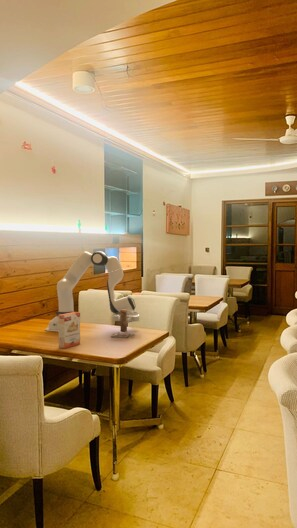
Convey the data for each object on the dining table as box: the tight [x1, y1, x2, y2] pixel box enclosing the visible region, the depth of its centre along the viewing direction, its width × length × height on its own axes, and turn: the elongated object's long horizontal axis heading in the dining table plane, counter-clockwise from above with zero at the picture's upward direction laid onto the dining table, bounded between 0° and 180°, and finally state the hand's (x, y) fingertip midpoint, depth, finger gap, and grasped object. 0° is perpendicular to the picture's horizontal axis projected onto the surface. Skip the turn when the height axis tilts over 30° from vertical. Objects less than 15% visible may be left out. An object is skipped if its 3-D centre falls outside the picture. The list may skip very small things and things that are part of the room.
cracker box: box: [58, 311, 81, 350], centre depth 248 cm, size 14×6×21 cm, turn 146°
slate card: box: [110, 333, 131, 339], centre depth 274 cm, size 12×8×1 cm, turn 80°
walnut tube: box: [119, 309, 128, 333], centre depth 273 cm, size 5×5×15 cm
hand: (123, 320), depth 272 cm, fingers closed on walnut tube, 4 cm apart
